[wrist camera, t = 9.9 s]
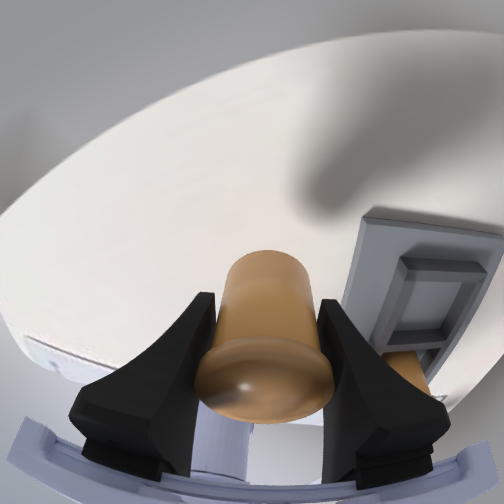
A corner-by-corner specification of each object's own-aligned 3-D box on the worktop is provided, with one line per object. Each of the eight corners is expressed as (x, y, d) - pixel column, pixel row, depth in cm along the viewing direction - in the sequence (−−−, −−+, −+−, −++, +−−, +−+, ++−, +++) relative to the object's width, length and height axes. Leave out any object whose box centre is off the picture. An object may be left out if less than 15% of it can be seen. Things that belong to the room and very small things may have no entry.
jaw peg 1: (308, 323, 15) (318, 424, 10) (221, 318, 15) (201, 418, 10) (323, 247, 12) (351, 353, 7) (218, 241, 13) (185, 345, 7)
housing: (423, 380, 25) (429, 398, 23) (313, 388, 26) (314, 409, 23) (501, 235, 16) (518, 251, 14) (362, 216, 16) (374, 236, 14)
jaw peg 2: (406, 371, 23) (422, 424, 17) (363, 376, 23) (374, 433, 18) (425, 339, 20) (448, 396, 15) (378, 343, 20) (396, 407, 15)
